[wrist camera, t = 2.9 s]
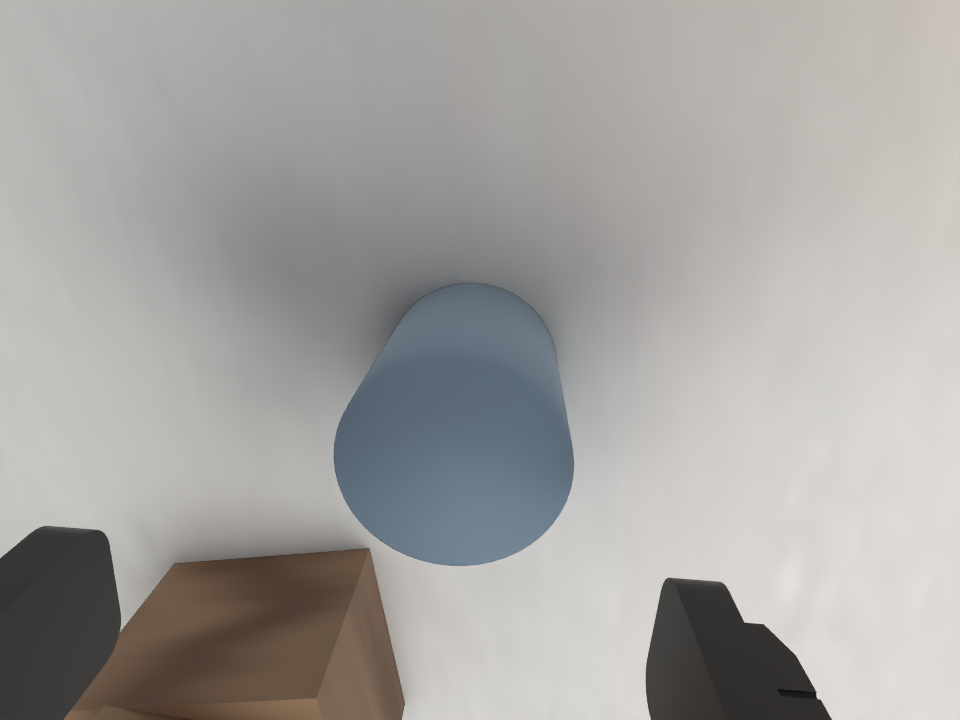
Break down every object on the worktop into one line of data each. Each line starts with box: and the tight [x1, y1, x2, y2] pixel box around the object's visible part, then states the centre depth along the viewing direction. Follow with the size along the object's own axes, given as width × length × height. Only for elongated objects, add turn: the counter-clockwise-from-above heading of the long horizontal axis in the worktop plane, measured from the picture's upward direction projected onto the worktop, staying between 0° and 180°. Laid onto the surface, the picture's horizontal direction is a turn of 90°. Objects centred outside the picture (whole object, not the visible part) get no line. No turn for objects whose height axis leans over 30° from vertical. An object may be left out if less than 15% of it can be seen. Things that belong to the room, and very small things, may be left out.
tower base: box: [64, 549, 405, 720], centre depth 20 cm, size 7×7×6 cm
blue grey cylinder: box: [334, 283, 574, 566], centre depth 16 cm, size 5×5×6 cm
